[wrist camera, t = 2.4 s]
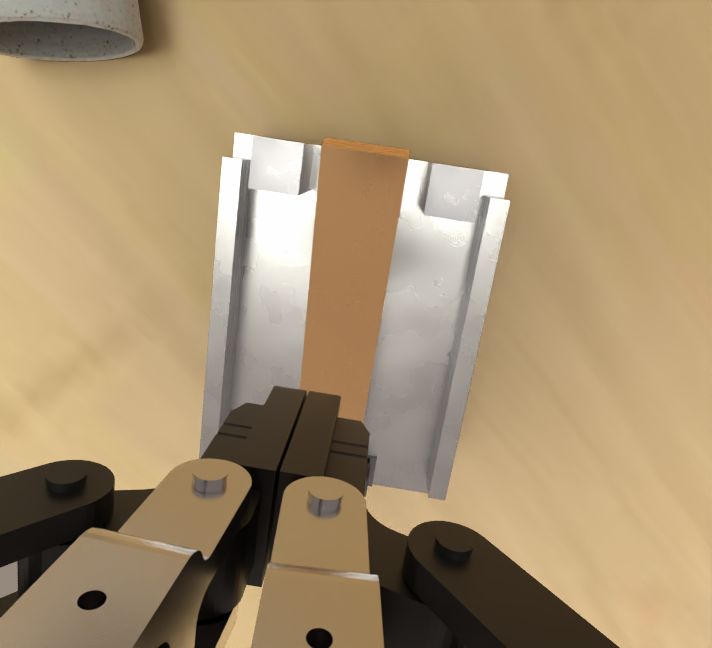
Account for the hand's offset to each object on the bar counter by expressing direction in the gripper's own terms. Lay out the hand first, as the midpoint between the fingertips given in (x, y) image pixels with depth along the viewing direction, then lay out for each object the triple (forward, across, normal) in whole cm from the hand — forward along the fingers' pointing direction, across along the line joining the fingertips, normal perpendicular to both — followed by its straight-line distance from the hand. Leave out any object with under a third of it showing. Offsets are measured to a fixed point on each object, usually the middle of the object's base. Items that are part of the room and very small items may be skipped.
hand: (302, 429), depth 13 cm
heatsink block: (+20, 0, +2) cm, 20 cm away
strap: (+12, 0, +2) cm, 12 cm away
